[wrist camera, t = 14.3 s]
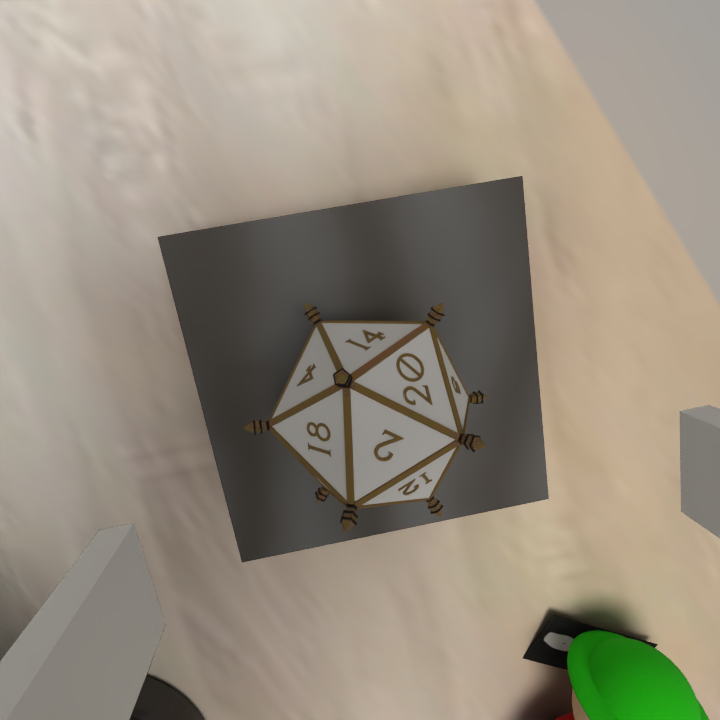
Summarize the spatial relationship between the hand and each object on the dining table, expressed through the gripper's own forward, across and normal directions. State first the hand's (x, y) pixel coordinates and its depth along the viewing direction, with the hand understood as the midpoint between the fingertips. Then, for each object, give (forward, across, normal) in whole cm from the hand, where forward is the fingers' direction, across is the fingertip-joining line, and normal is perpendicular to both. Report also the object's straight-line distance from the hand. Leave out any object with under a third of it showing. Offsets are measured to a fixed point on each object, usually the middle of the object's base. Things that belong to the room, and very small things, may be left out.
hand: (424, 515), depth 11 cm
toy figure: (+17, +11, -27) cm, 34 cm away
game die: (+12, 0, 0) cm, 12 cm away
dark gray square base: (+17, 0, 0) cm, 17 cm away
